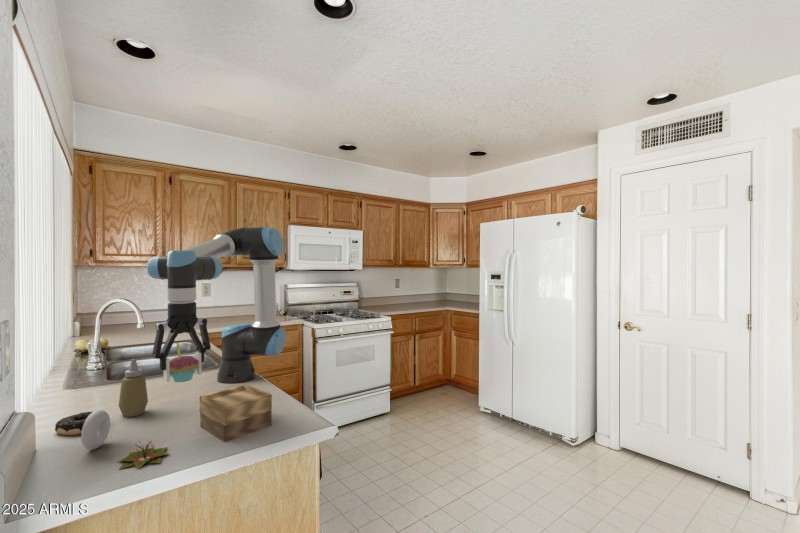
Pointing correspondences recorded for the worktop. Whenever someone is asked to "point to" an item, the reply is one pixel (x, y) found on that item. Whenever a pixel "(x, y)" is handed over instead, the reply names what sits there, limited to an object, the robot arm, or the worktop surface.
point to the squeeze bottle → (133, 392)
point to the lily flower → (143, 456)
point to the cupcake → (183, 367)
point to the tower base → (235, 426)
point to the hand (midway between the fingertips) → (183, 376)
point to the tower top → (235, 404)
